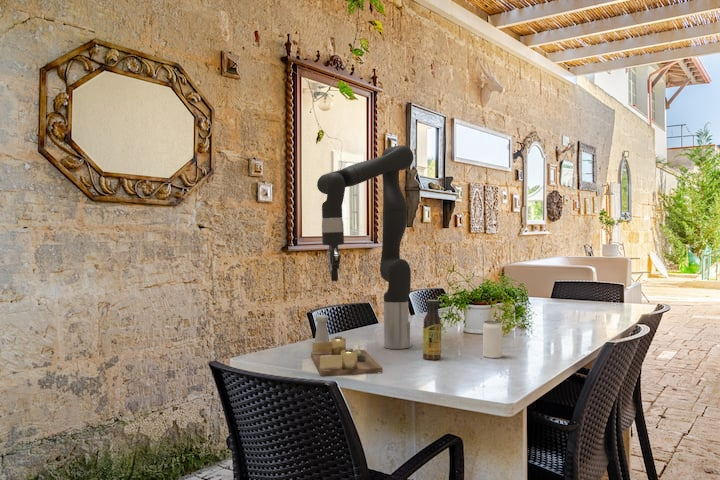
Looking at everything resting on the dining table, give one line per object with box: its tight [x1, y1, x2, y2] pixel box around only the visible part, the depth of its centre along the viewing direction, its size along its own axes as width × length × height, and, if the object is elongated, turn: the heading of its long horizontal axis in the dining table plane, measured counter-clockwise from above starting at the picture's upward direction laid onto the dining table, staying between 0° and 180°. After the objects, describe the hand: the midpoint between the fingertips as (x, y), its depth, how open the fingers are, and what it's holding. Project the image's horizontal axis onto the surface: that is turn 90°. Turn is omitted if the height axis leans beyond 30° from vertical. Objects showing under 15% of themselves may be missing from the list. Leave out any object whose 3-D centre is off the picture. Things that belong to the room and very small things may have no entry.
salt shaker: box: [314, 314, 331, 342], centre depth 215 cm, size 6×6×13 cm
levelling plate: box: [310, 348, 383, 377], centre depth 193 cm, size 19×29×5 cm, turn 11°
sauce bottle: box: [422, 299, 443, 361], centre depth 200 cm, size 6×6×20 cm
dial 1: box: [311, 335, 347, 355], centre depth 202 cm, size 12×5×6 cm, turn 95°
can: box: [482, 320, 503, 359], centre depth 202 cm, size 6×6×12 cm
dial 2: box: [320, 348, 357, 369], centre depth 180 cm, size 12×5×6 cm, turn 105°
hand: (334, 281), depth 204 cm, fingers closed
